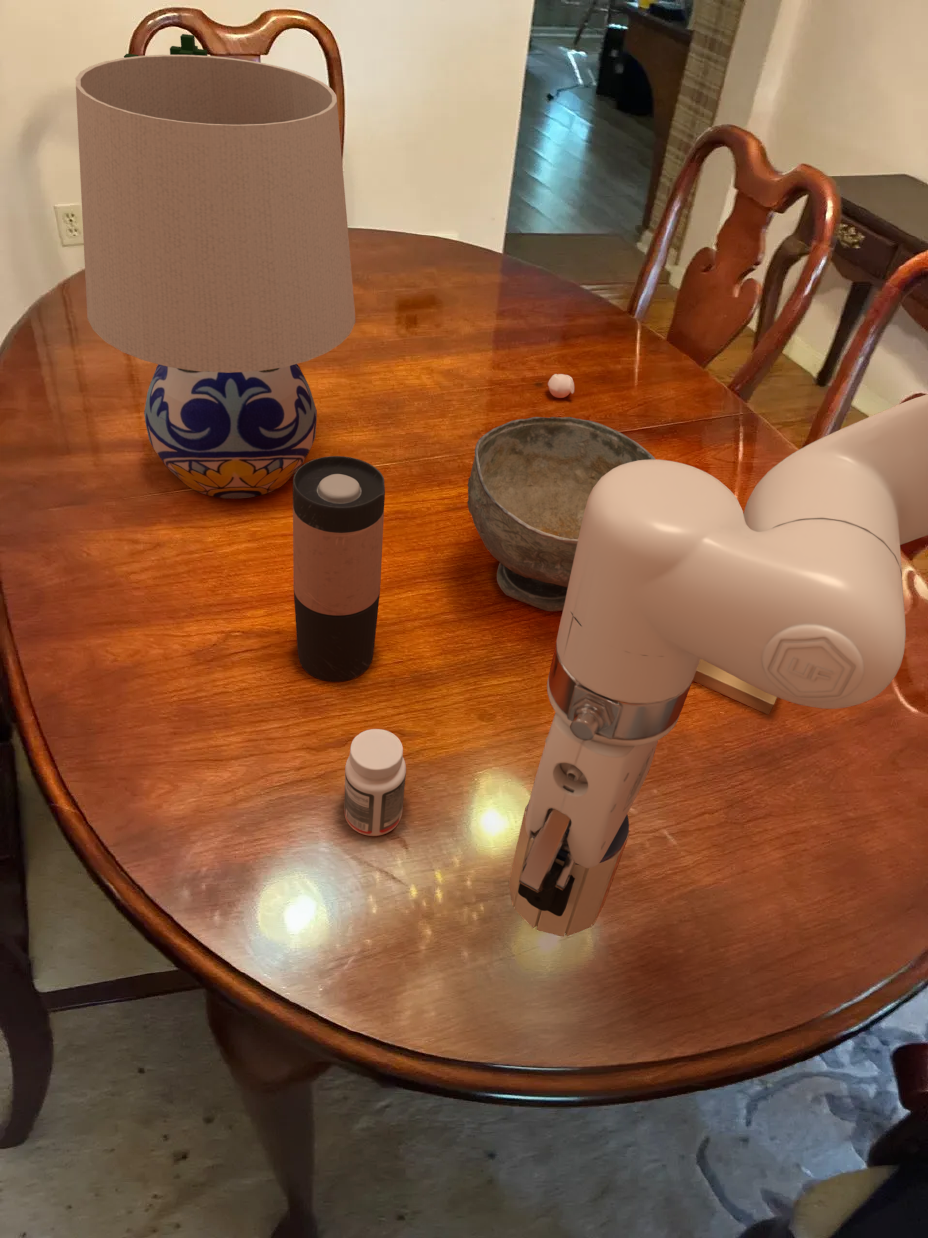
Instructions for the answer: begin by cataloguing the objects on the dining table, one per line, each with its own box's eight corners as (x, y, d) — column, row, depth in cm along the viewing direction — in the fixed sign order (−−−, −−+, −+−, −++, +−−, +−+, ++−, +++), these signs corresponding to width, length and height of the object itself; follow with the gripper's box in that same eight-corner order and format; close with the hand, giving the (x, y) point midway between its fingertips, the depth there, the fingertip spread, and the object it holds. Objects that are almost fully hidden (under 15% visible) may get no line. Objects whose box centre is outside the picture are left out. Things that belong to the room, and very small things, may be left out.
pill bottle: (398, 787, 78) (404, 722, 72) (405, 835, 74) (412, 770, 69) (341, 791, 77) (343, 725, 71) (346, 840, 73) (348, 774, 68)
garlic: (570, 406, 128) (573, 392, 132) (576, 384, 126) (578, 371, 130) (535, 398, 128) (539, 384, 132) (540, 376, 126) (544, 363, 130)
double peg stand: (792, 661, 95) (834, 575, 87) (768, 715, 88) (811, 628, 81) (665, 606, 99) (694, 519, 91) (634, 654, 93) (663, 566, 85)
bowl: (523, 671, 89) (549, 550, 79) (423, 556, 101) (434, 437, 90) (674, 612, 98) (715, 496, 88) (566, 512, 109) (592, 399, 99)
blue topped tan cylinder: (617, 878, 66) (645, 803, 60) (578, 954, 62) (604, 880, 56) (536, 836, 69) (554, 759, 63) (492, 906, 64) (508, 830, 58)
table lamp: (106, 540, 97) (26, 123, 70) (121, 406, 116) (63, 39, 89) (364, 530, 103) (381, 142, 76) (338, 405, 122) (344, 59, 95)
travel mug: (278, 652, 88) (271, 475, 74) (339, 617, 92) (343, 444, 79) (331, 697, 84) (334, 520, 71) (392, 658, 89) (406, 485, 75)
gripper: (621, 818, 44) (561, 994, 55) (731, 616, 55) (662, 797, 67) (483, 749, 46) (453, 932, 58) (616, 569, 58) (569, 752, 70)
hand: (566, 858), depth 62 cm, fingers closed on blue topped tan cylinder, 7 cm apart
